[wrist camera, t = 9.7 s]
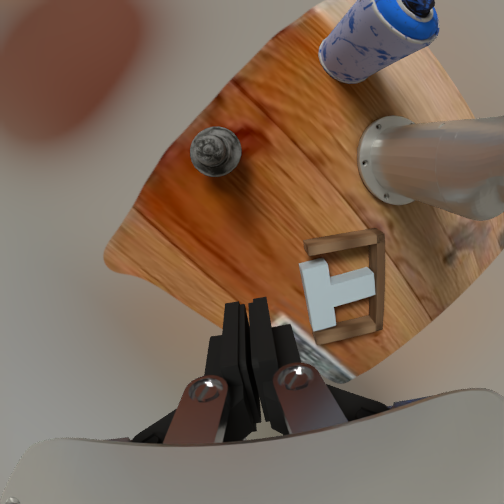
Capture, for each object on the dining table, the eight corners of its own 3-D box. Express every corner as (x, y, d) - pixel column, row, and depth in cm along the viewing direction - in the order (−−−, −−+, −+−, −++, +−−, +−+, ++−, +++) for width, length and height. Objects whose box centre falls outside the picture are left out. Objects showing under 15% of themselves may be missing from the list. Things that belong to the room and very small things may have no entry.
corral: (312, 334, 44) (316, 345, 41) (303, 240, 39) (308, 246, 36) (375, 319, 44) (382, 329, 41) (375, 227, 39) (384, 233, 36)
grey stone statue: (223, 120, 34) (214, 103, 22) (250, 156, 35) (255, 156, 24) (185, 148, 35) (160, 144, 23) (213, 184, 36) (200, 196, 25)
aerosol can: (359, 31, 30) (434, -33, 11) (380, 79, 32) (474, 40, 13) (309, 38, 30) (363, -42, 11) (331, 88, 33) (409, 38, 14)
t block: (309, 322, 43) (313, 331, 41) (298, 263, 40) (302, 270, 38) (370, 305, 43) (376, 313, 40) (365, 246, 40) (372, 251, 37)
